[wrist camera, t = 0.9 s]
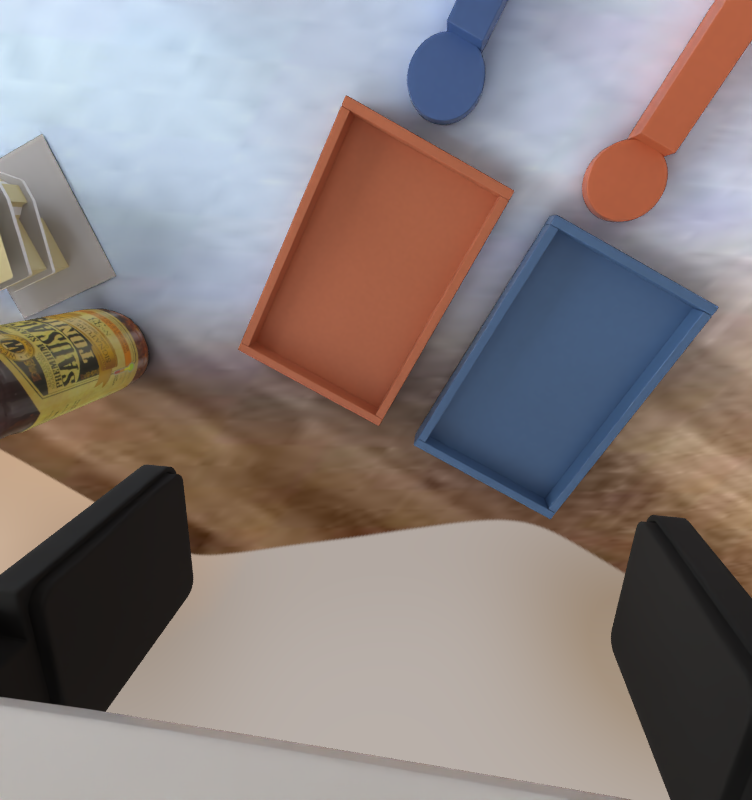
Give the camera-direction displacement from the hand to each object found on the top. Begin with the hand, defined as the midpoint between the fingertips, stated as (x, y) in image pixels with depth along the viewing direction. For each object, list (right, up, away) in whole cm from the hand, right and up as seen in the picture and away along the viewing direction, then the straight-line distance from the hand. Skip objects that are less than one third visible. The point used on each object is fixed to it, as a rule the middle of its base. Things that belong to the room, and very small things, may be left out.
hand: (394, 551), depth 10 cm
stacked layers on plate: (-25, +15, +26) cm, 39 cm away
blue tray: (+11, +5, +24) cm, 27 cm away
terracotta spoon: (+16, +19, +18) cm, 31 cm away
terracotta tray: (-1, +12, +23) cm, 26 cm away
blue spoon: (+6, +25, +18) cm, 31 cm away
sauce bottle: (-20, +7, +28) cm, 35 cm away
